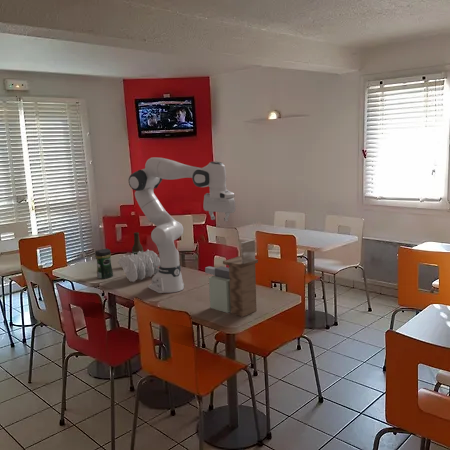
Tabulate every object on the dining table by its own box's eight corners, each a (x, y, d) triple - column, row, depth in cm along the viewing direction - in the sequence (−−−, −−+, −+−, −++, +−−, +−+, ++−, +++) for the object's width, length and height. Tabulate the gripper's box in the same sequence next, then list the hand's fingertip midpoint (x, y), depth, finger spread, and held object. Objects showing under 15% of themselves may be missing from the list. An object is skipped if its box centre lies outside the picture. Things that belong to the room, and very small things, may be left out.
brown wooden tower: (225, 312, 228) (222, 240, 221) (241, 305, 236) (238, 236, 230) (243, 317, 219) (240, 243, 213) (259, 310, 228) (257, 239, 222)
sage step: (210, 307, 235) (208, 277, 232) (226, 301, 243) (225, 272, 241) (227, 312, 227) (225, 281, 224) (243, 306, 235) (242, 275, 232)
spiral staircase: (162, 281, 299) (129, 289, 281) (146, 266, 309) (114, 272, 291) (169, 258, 291) (136, 264, 273) (153, 243, 301) (120, 248, 283)
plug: (204, 273, 240) (203, 266, 239) (210, 271, 243) (210, 264, 242) (229, 279, 227) (229, 271, 227) (236, 277, 231) (235, 269, 230)
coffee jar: (108, 274, 305) (106, 247, 302) (114, 276, 300) (112, 248, 296) (95, 277, 299) (92, 249, 296) (101, 280, 293) (98, 251, 290)
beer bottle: (131, 267, 322) (128, 233, 317) (136, 264, 329) (134, 231, 325) (140, 267, 319) (138, 233, 315) (146, 265, 326) (144, 231, 322)
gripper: (199, 193, 240) (201, 219, 243) (228, 195, 226) (229, 223, 228) (208, 192, 245) (209, 218, 247) (237, 193, 231) (238, 221, 233)
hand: (219, 220), depth 238 cm, fingers open, 8 cm apart
